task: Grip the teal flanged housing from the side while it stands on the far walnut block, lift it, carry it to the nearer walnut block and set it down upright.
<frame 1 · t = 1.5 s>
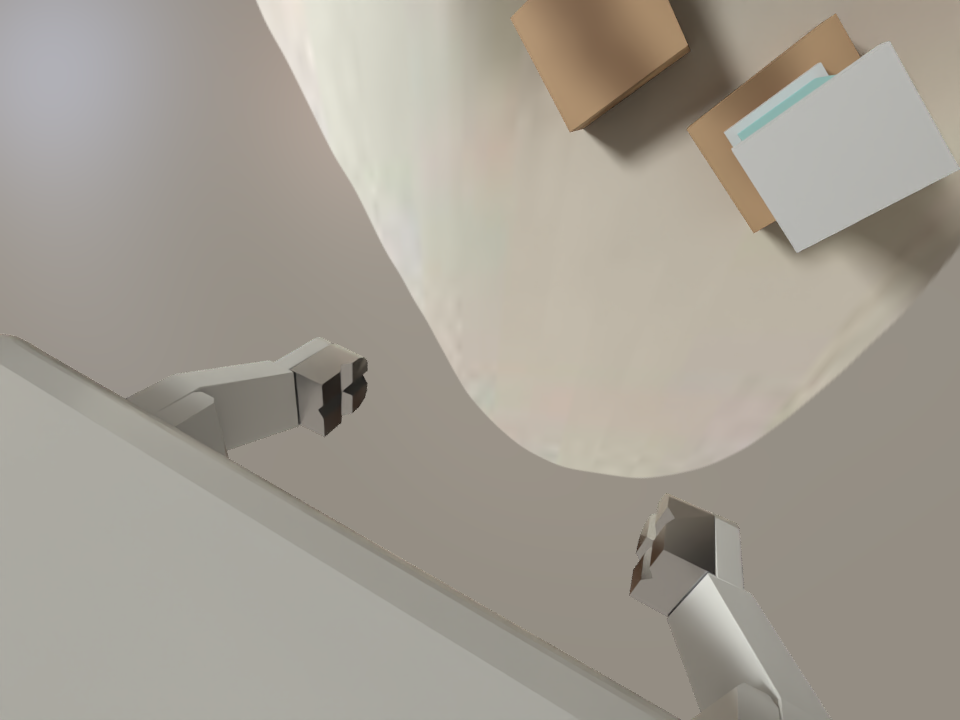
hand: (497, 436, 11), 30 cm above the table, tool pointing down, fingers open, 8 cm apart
stand a: (780, 132, 28), on the table
housing: (789, 136, 25), point 4 cm above the table, touching stand a
stand b: (606, 37, 30), on the table
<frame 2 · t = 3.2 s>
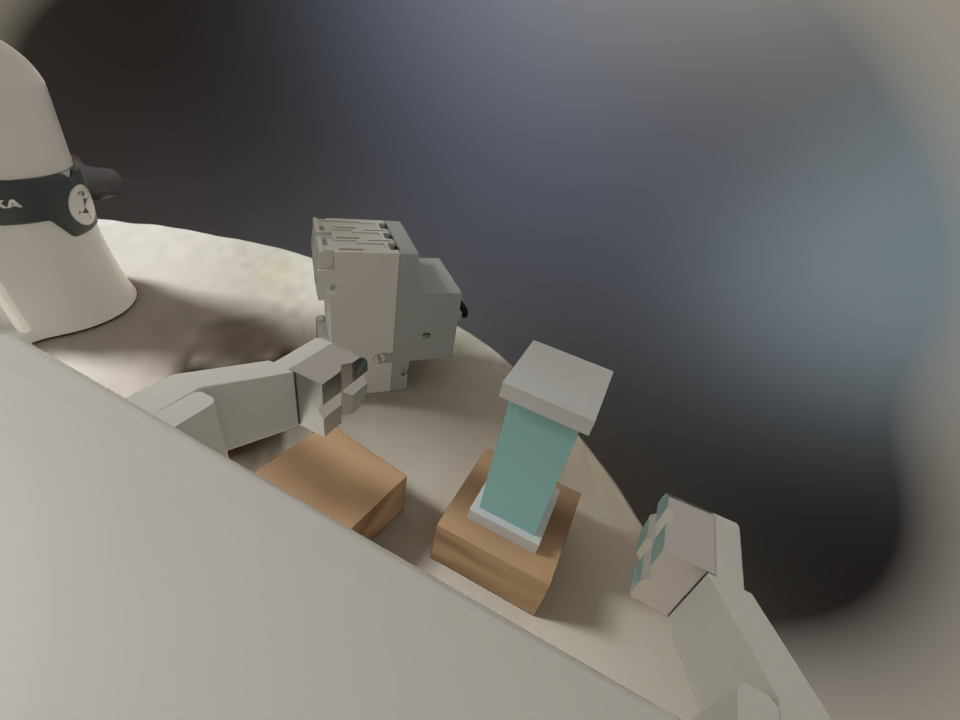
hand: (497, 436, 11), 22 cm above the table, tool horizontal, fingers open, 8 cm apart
stand a: (502, 539, 33), on the table
housing: (513, 508, 31), point 4 cm above the table, touching stand a
circuit breaker: (389, 369, 47), on the table
stand b: (325, 515, 32), on the table
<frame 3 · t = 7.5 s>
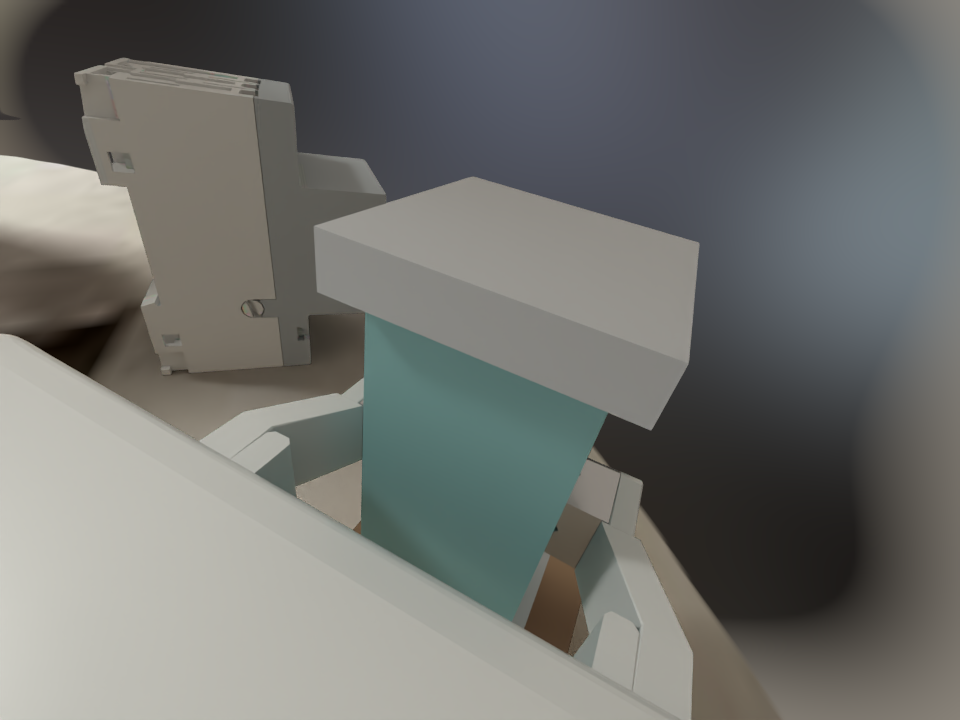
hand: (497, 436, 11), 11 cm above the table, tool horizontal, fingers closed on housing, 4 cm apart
stand a: (435, 646, 16), on the table
housing: (448, 593, 14), point 4 cm above the table, touching gripper, stand a
circuit breaker: (292, 336, 31), on the table
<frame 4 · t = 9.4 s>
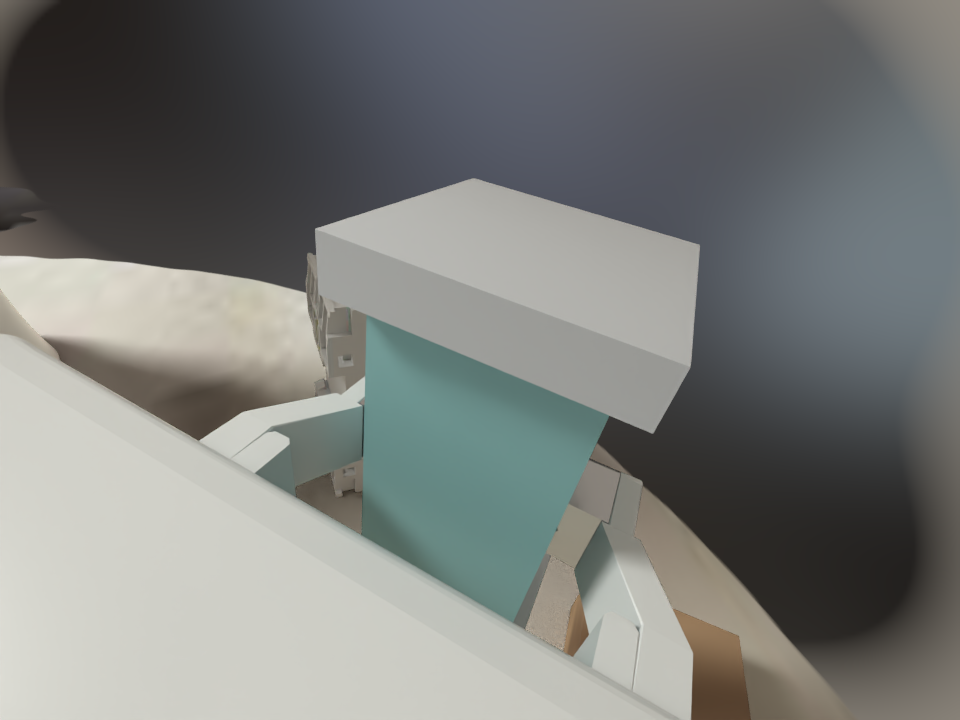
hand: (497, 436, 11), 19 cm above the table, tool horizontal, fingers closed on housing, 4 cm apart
stand a: (632, 713, 23), on the table
housing: (449, 595, 14), point 12 cm above the table, touching gripper
circuit breaker: (415, 439, 36), on the table
when the fingers open (11 cm above the table, at t = 11.6 s): housing stays where it is, resting on stand b.
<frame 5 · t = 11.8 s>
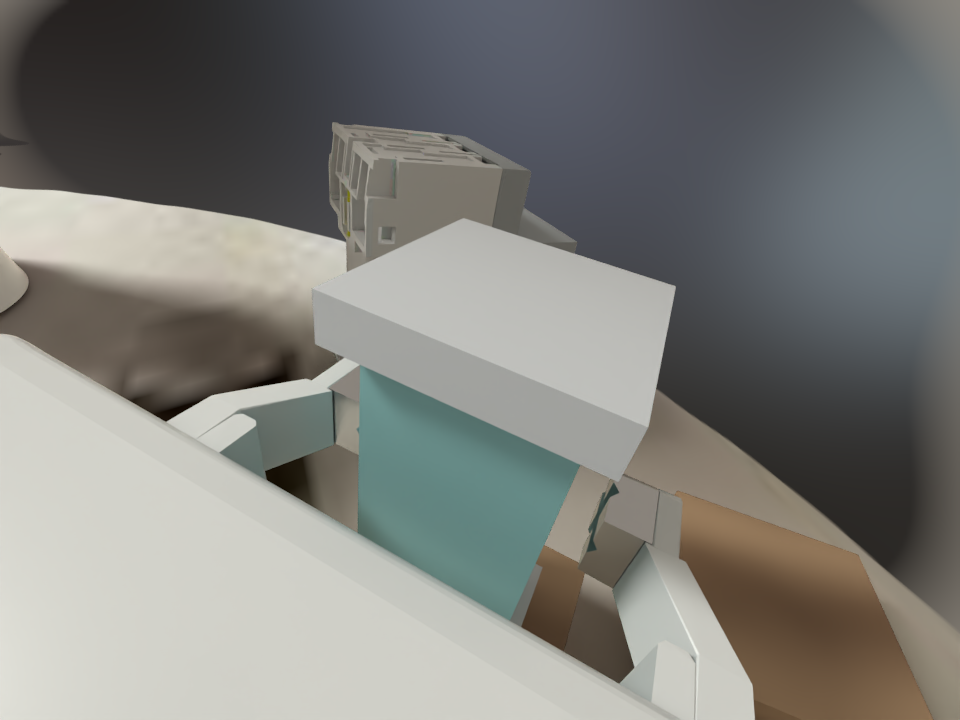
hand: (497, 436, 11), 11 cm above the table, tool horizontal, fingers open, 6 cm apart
stand a: (735, 648, 19), on the table
housing: (443, 608, 15), point 4 cm above the table, touching stand b
circuit breaker: (444, 371, 32), on the table
stand b: (433, 656, 17), on the table
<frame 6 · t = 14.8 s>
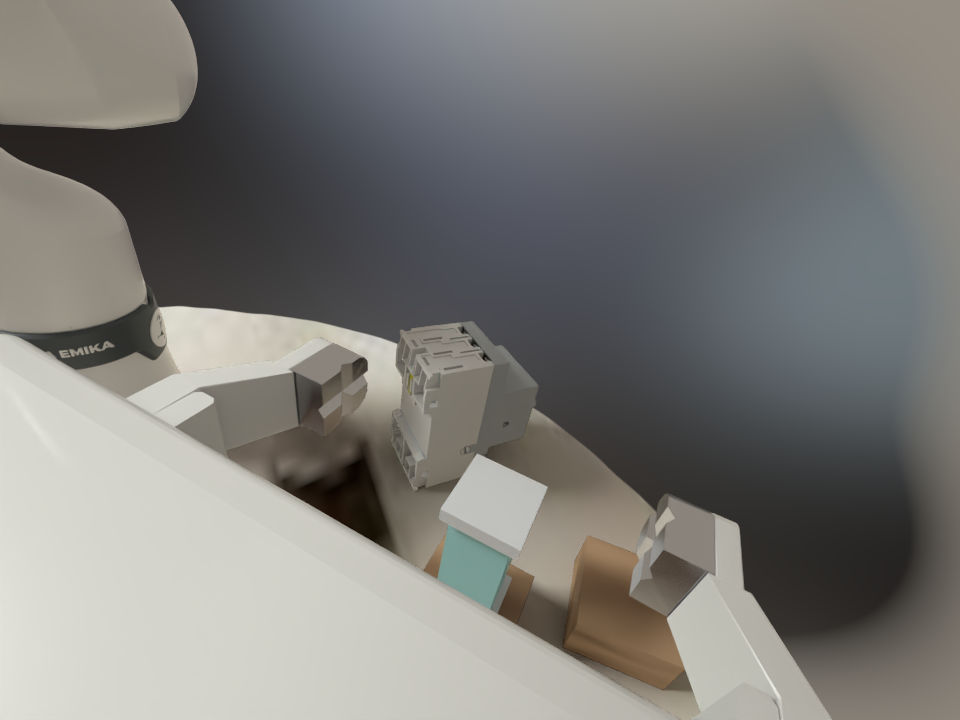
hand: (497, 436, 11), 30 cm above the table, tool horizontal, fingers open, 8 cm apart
stand a: (614, 618, 37), on the table
housing: (467, 596, 33), point 4 cm above the table, touching stand b
circuit breaker: (460, 450, 50), on the table
stand b: (461, 620, 35), on the table
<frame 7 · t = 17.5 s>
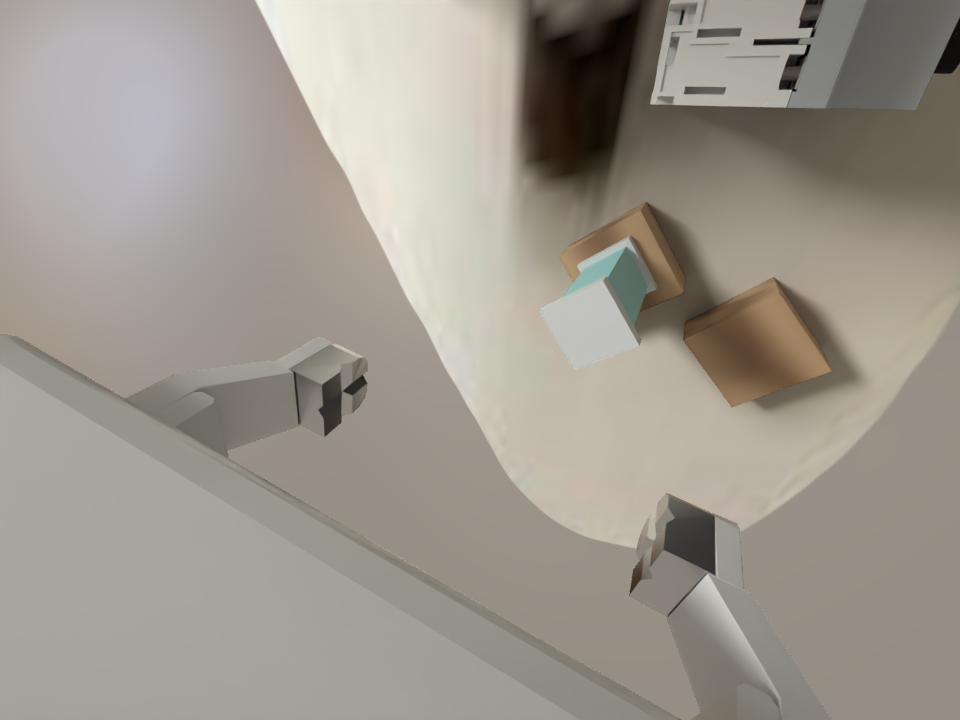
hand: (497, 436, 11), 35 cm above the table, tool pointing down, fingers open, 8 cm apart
stand a: (750, 335, 40), on the table
housing: (617, 273, 39), point 4 cm above the table, touching stand b
circuit breaker: (787, 44, 30), on the table
stand b: (625, 261, 42), on the table
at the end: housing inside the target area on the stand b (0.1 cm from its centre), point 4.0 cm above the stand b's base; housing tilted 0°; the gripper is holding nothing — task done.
